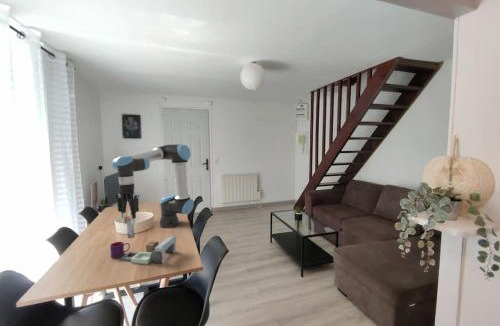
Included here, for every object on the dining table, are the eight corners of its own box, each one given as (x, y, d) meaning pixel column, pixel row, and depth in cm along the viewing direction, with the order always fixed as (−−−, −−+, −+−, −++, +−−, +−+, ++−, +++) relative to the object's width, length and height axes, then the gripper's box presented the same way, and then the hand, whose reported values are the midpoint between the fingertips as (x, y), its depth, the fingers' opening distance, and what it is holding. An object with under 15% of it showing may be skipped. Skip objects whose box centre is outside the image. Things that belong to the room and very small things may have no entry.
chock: (152, 248, 145) (152, 240, 145) (158, 248, 144) (158, 241, 144) (146, 252, 139) (146, 244, 139) (153, 253, 138) (152, 245, 138)
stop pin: (130, 235, 134) (129, 215, 134) (136, 236, 133) (135, 215, 133) (125, 238, 130) (123, 217, 130) (131, 238, 129) (130, 217, 129)
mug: (112, 253, 138) (111, 242, 138) (130, 251, 142) (130, 240, 141) (109, 258, 132) (109, 247, 132) (129, 255, 135) (128, 244, 135)
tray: (140, 255, 135) (140, 251, 135) (156, 257, 134) (155, 253, 133) (131, 262, 128) (131, 258, 127) (147, 264, 126) (147, 260, 126)
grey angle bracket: (164, 250, 141) (163, 234, 140) (176, 251, 140) (175, 235, 139) (150, 262, 127) (149, 245, 126) (163, 264, 126) (162, 246, 125)
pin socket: (129, 254, 137) (129, 251, 137) (140, 255, 136) (139, 252, 136) (121, 260, 131) (120, 257, 130) (132, 261, 129) (131, 258, 129)
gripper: (108, 184, 127) (111, 225, 129) (135, 185, 123) (138, 227, 126) (118, 182, 134) (121, 220, 136) (144, 182, 130) (146, 222, 133)
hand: (129, 223), depth 131 cm, fingers closed on stop pin, 4 cm apart
